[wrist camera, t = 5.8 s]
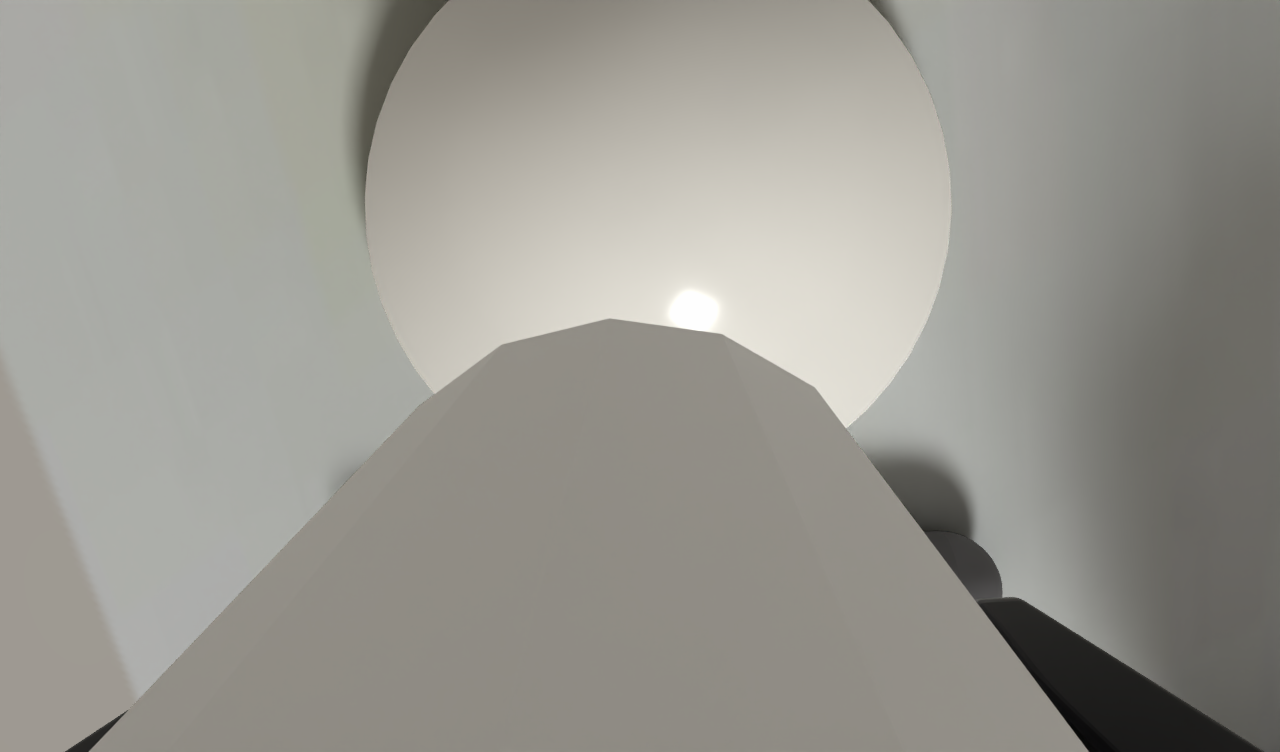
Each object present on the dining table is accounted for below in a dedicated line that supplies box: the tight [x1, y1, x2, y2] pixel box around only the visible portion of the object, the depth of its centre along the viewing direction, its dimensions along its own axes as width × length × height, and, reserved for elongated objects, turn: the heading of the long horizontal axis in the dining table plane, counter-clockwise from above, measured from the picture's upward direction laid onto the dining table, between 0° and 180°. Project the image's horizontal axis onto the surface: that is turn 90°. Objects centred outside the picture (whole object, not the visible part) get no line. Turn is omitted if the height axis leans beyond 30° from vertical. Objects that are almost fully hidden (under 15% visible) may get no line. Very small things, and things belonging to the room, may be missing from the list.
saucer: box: [365, 0, 952, 428], centre depth 16 cm, size 11×11×1 cm
